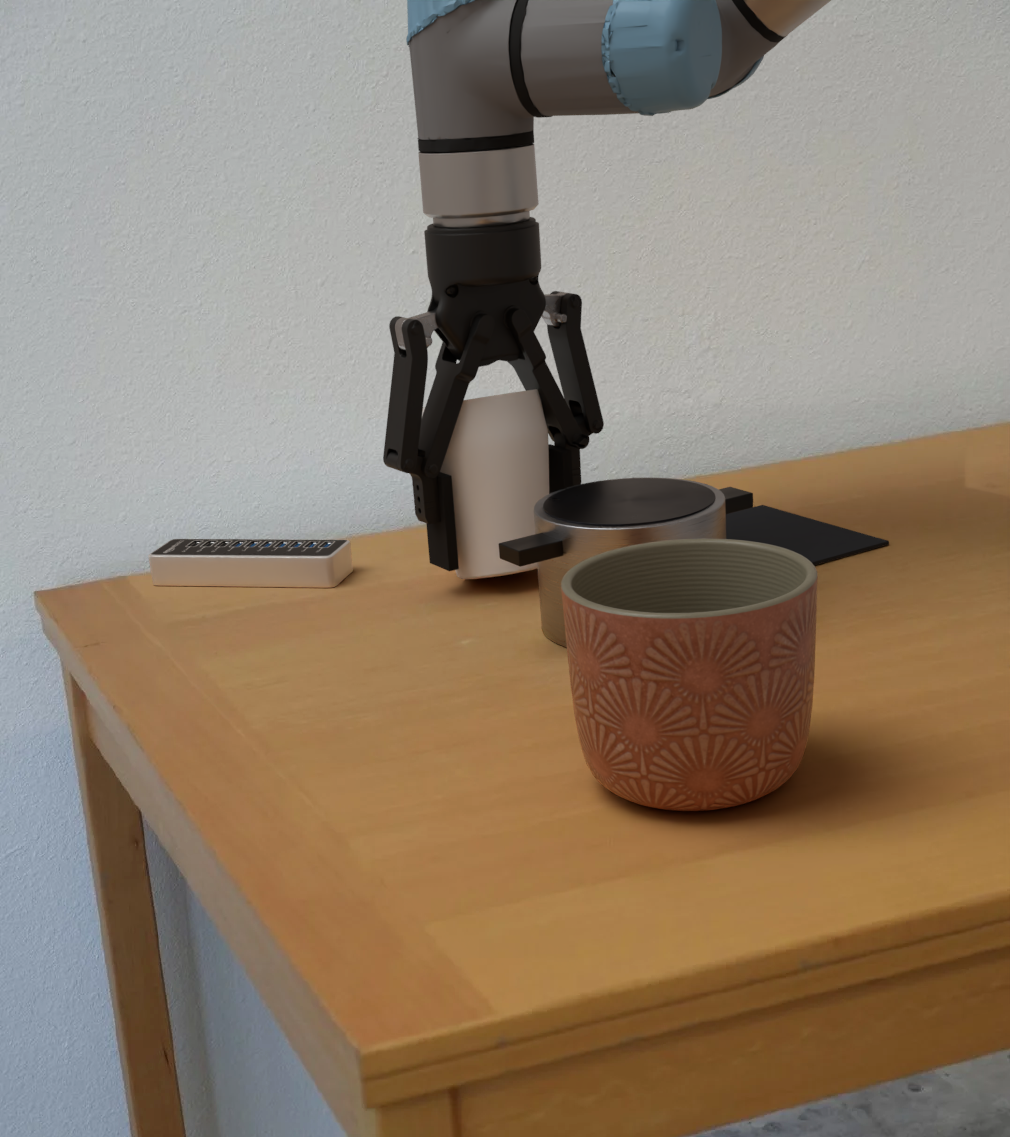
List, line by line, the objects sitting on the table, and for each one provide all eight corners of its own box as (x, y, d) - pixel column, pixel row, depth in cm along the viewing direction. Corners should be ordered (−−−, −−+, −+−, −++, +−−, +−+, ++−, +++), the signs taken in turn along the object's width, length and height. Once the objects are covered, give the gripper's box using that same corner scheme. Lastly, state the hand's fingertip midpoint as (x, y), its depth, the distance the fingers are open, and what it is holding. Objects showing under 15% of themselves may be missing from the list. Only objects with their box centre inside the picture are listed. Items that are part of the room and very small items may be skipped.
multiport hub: (334, 587, 122) (330, 556, 121) (150, 585, 126) (145, 555, 125) (355, 569, 126) (351, 538, 125) (176, 567, 129) (171, 538, 128)
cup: (517, 562, 126) (492, 398, 124) (593, 558, 119) (567, 384, 116) (416, 584, 121) (387, 413, 119) (488, 581, 114) (459, 400, 111)
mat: (889, 544, 121) (889, 540, 121) (734, 588, 115) (734, 583, 115) (762, 508, 132) (762, 504, 132) (615, 546, 126) (614, 542, 126)
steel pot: (803, 612, 109) (802, 489, 106) (570, 681, 101) (561, 549, 98) (689, 572, 119) (685, 457, 116) (467, 632, 111) (457, 510, 107)
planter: (746, 852, 79) (741, 629, 75) (526, 802, 86) (510, 595, 82) (858, 755, 88) (860, 552, 84) (651, 717, 95) (643, 528, 91)
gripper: (585, 197, 119) (599, 511, 128) (305, 234, 109) (341, 572, 117) (649, 202, 113) (660, 531, 122) (359, 241, 103) (394, 597, 112)
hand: (503, 551), depth 120 cm, fingers closed on cup, 9 cm apart
